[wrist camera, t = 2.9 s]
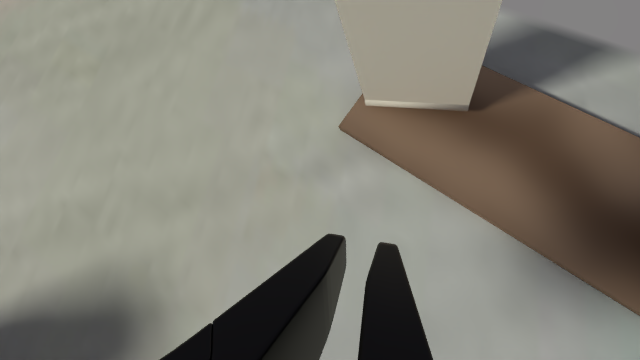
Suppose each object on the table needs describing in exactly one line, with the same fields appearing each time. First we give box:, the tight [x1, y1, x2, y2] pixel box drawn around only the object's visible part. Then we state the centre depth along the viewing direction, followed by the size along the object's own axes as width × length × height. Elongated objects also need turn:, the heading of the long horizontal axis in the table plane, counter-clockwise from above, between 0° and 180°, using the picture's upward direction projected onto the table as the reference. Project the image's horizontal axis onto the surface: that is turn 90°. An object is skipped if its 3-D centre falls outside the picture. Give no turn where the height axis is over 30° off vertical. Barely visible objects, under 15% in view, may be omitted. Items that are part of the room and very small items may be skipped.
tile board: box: [339, 66, 640, 316], centre depth 20 cm, size 8×23×1 cm, turn 53°
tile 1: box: [335, 0, 502, 111], centre depth 17 cm, size 2×6×11 cm, turn 80°
